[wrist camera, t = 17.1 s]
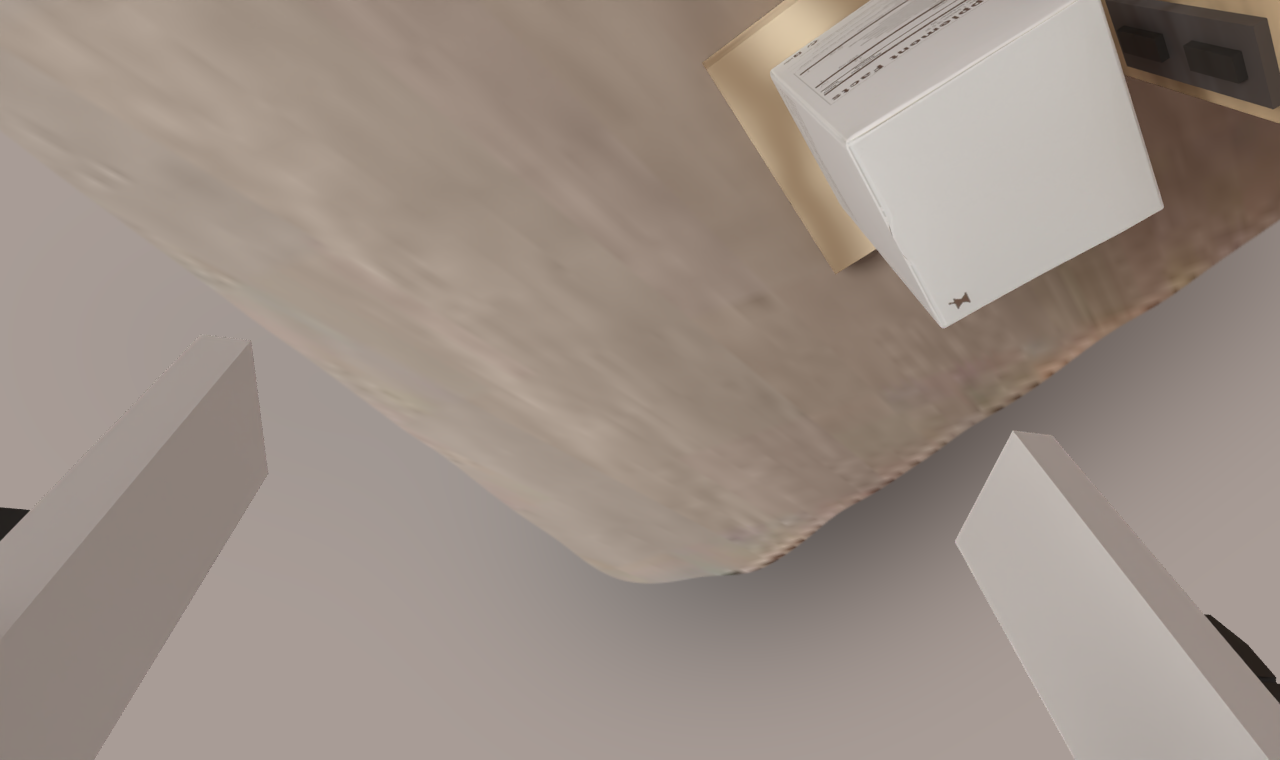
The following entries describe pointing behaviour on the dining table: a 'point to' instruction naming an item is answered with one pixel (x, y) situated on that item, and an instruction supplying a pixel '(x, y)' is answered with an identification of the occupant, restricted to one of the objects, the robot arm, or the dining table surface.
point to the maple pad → (788, 118)
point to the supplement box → (973, 139)
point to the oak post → (1203, 49)
